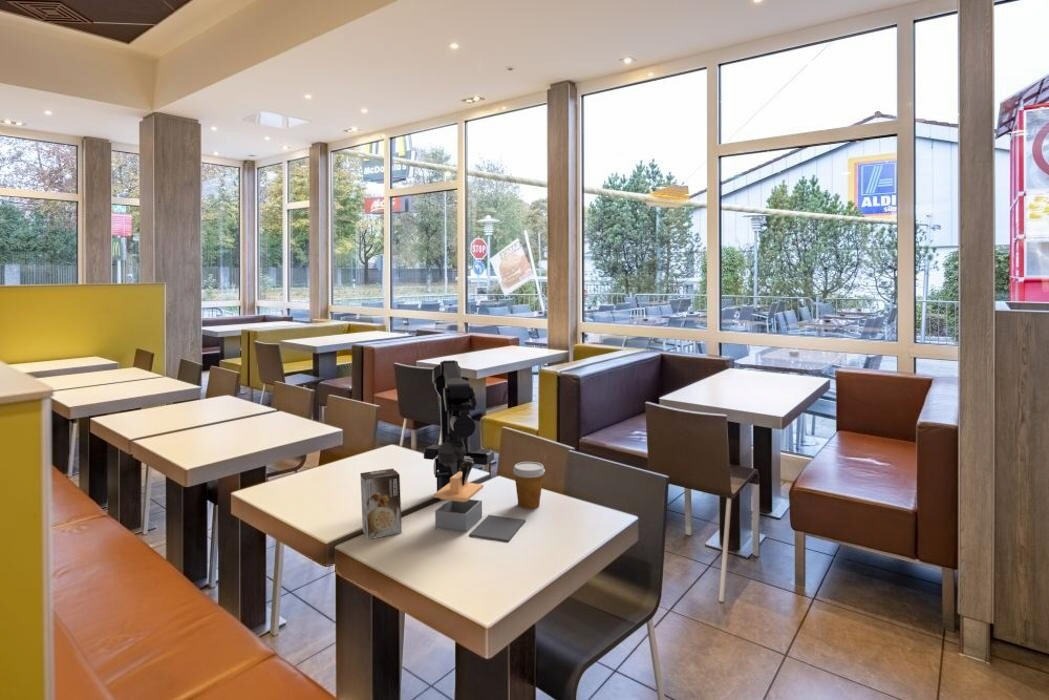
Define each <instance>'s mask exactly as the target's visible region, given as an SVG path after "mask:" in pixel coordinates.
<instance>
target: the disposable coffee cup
mask: <svg viewBox="0 0 1049 700" xmlns="http://www.w3.org/2000/svg"><path fill="white" fill-rule="evenodd" d="M512 472H513V474H514V480H515V487H516V489H515V490H516V496H517V502H518V503H517V504H518V507H519V508H521V509H525V510H533V509H537V508H539V507H540V503H541V494H542V489H543V488H542V487H543V481H544V475H545V472H546V470H545V468H544V465H543V463H540V462H535V461H521V462H518V463H516V464H515V465H514V467H513V469H512Z"/></svg>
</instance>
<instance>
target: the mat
mask: <svg viewBox="0 0 1049 700" xmlns="http://www.w3.org/2000/svg"><path fill="white" fill-rule="evenodd" d="M526 521H527V520H526V519H524V518H516V517H509V516H503V515H502V516H501V515H494V514H493V515H492V514H488V515H487V516H486V517H485V518H484V519H483V520H482V521H481V522H480V523H479V524H478V525H477V526H476V527H475V528H473V530H472V531H470V533H469V534H468V536H469V537H472V538H478V539H479V538H480V539H488V540H493V541H498V542H499V541H501V542H502V541H503V542H507V543H510V541H511V540H512V539H513V538H514V537H515V535H516V534H517V532H519V530H520V529H521V528H522V527H523V526H524V524H525V523H526Z"/></svg>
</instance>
